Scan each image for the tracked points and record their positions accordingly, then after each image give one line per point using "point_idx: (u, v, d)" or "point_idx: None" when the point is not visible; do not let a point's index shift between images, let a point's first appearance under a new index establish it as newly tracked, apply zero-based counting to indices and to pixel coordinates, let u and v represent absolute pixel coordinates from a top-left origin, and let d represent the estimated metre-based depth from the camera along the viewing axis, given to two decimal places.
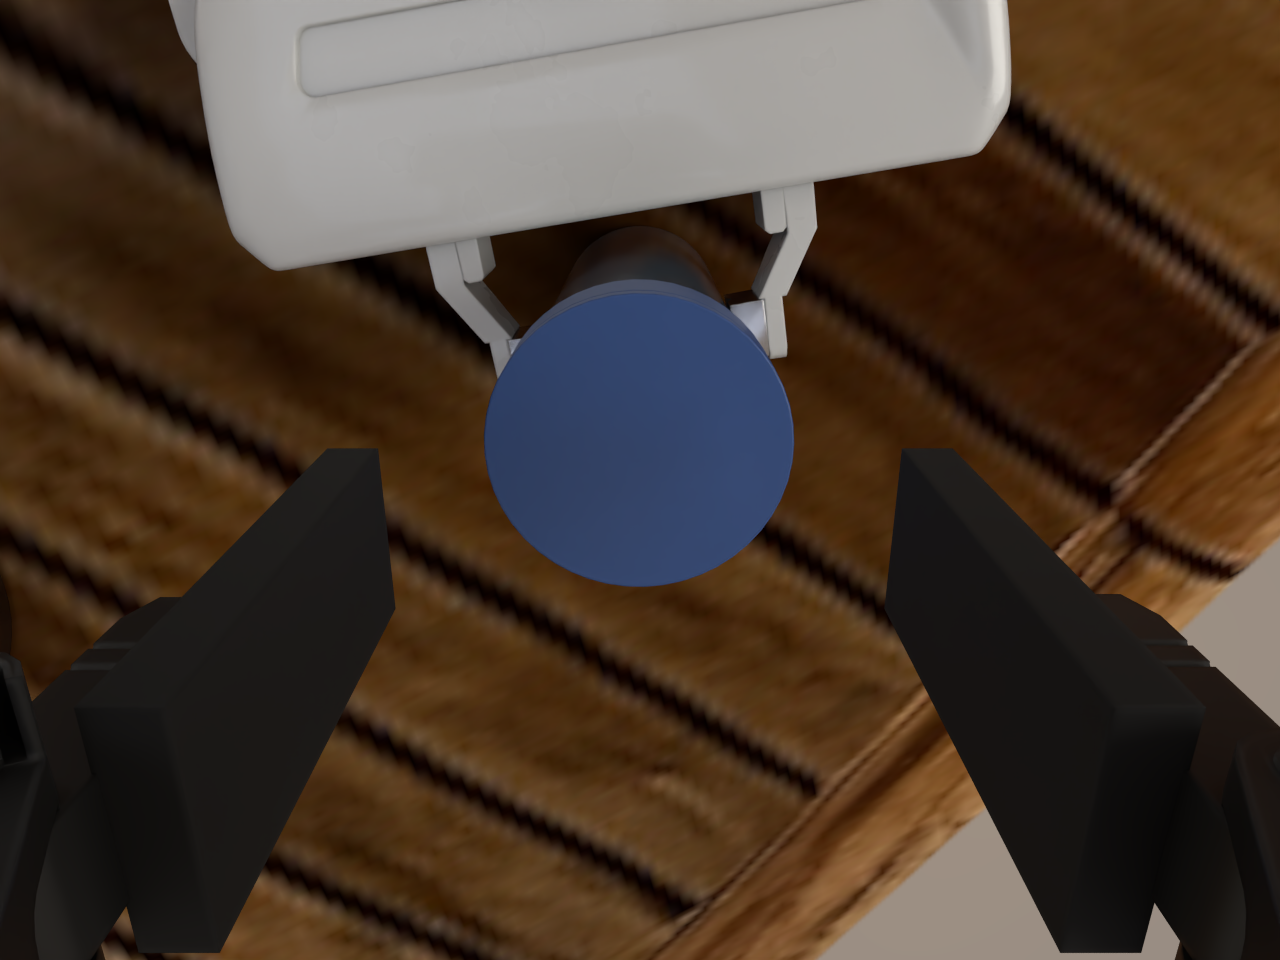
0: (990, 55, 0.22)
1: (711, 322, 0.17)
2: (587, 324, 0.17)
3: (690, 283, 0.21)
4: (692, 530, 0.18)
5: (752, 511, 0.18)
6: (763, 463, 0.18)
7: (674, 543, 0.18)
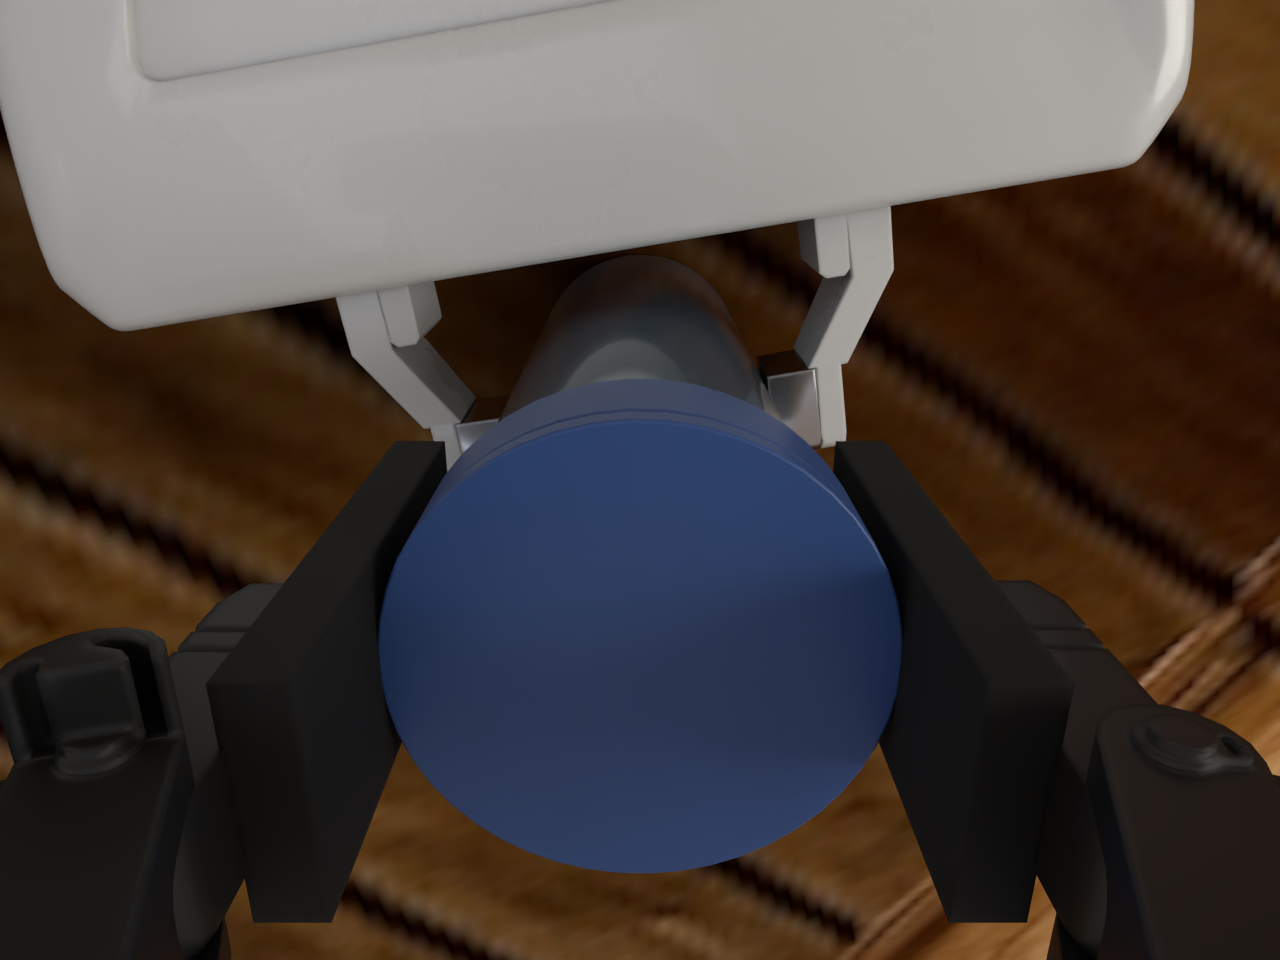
0: (1166, 18, 0.14)
1: (767, 468, 0.10)
2: (549, 471, 0.10)
3: (716, 361, 0.14)
4: (728, 792, 0.11)
5: (828, 764, 0.11)
6: (849, 692, 0.11)
7: (698, 811, 0.11)
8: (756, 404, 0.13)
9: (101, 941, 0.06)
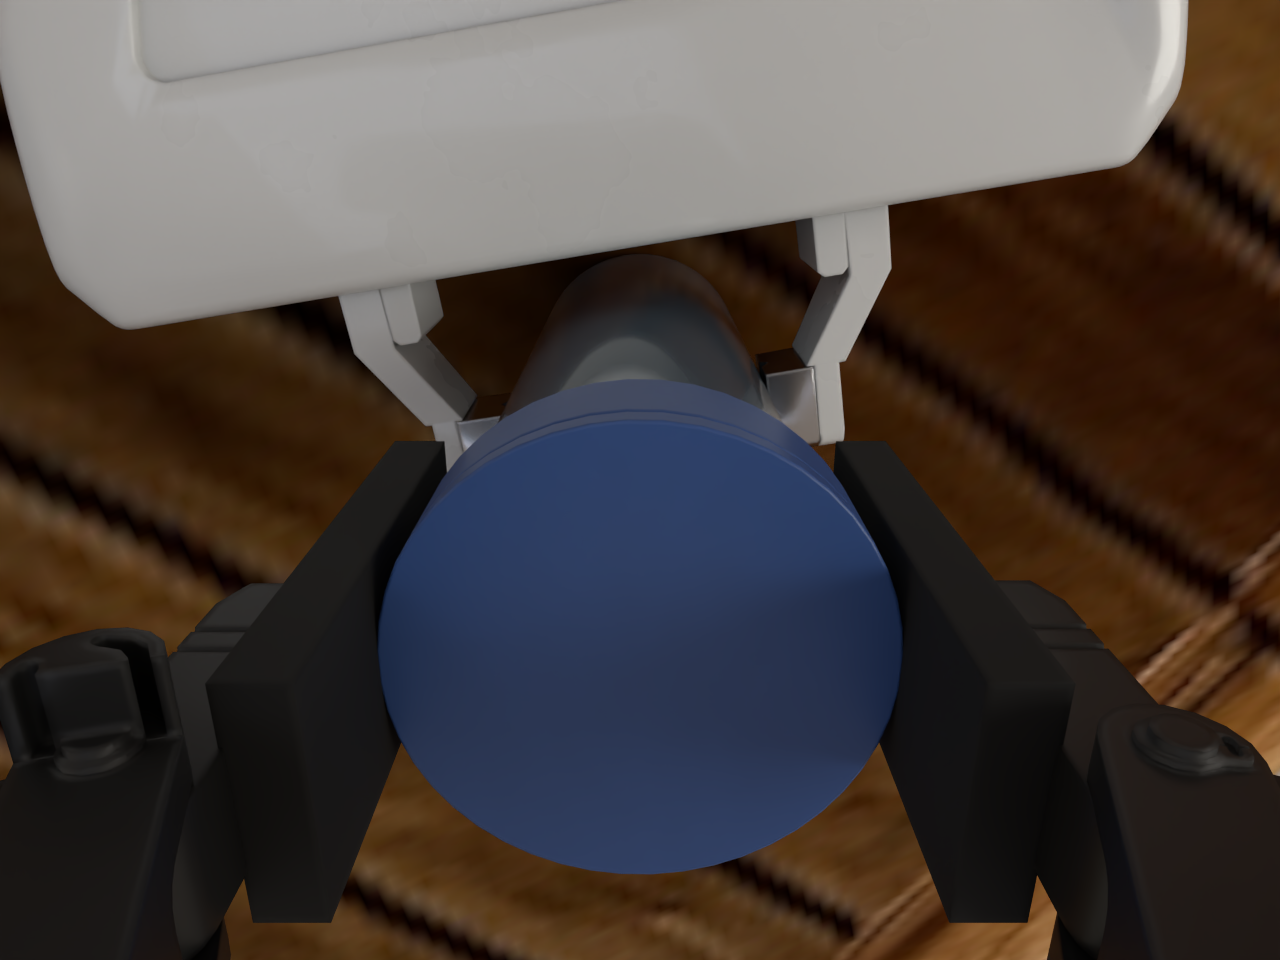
0: (1160, 19, 0.15)
1: (497, 477, 0.10)
2: (411, 643, 0.10)
3: (716, 358, 0.14)
4: (817, 665, 0.10)
5: (846, 567, 0.10)
6: (775, 512, 0.10)
7: (821, 698, 0.11)
8: (755, 401, 0.13)
9: (101, 941, 0.06)
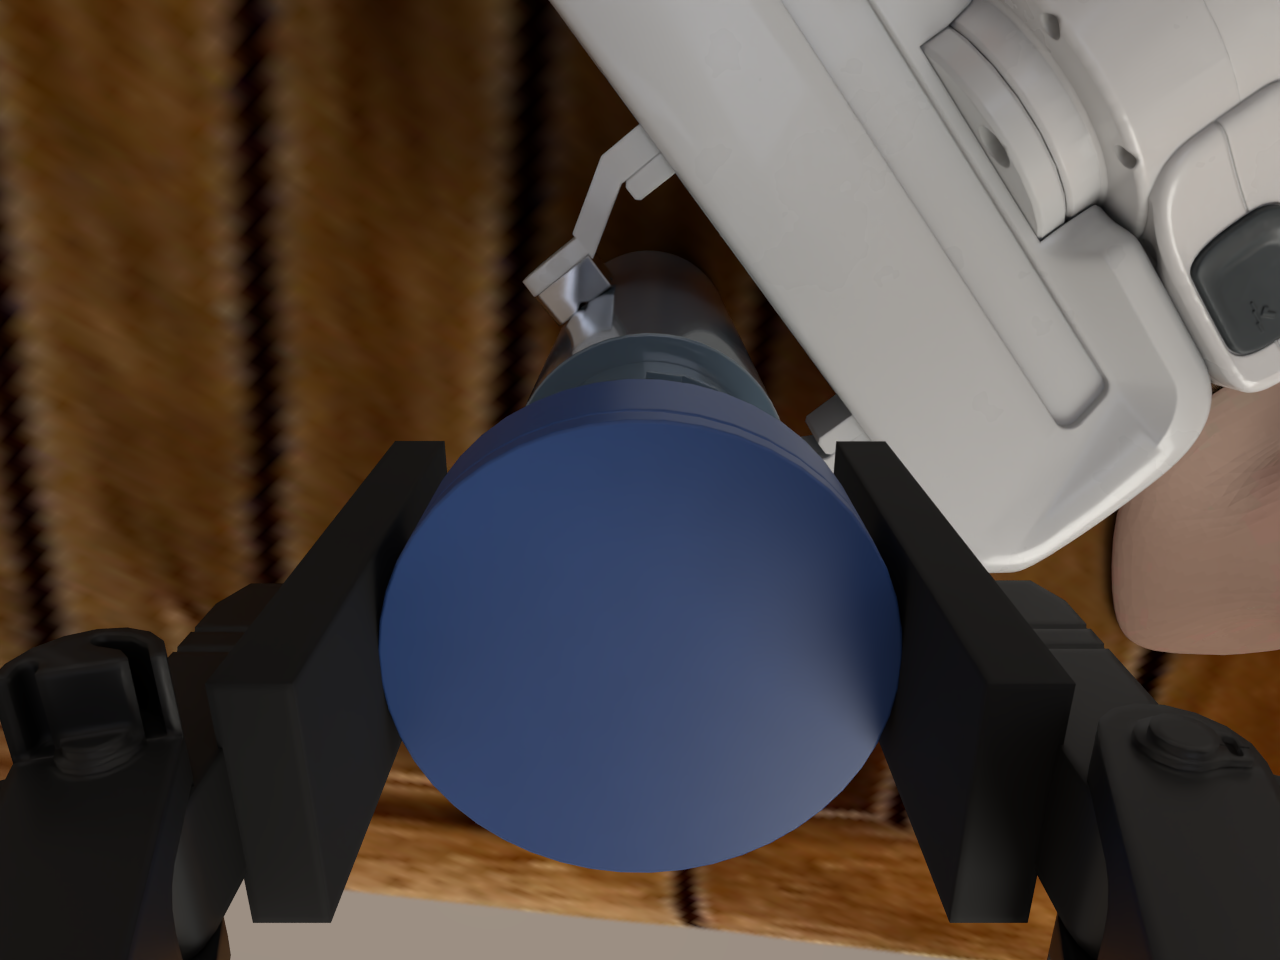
0: (1051, 538, 0.24)
1: (497, 477, 0.10)
2: (412, 642, 0.10)
3: None
4: (817, 664, 0.10)
5: (845, 566, 0.10)
6: (775, 512, 0.10)
7: (821, 697, 0.11)
8: None
9: (100, 941, 0.06)
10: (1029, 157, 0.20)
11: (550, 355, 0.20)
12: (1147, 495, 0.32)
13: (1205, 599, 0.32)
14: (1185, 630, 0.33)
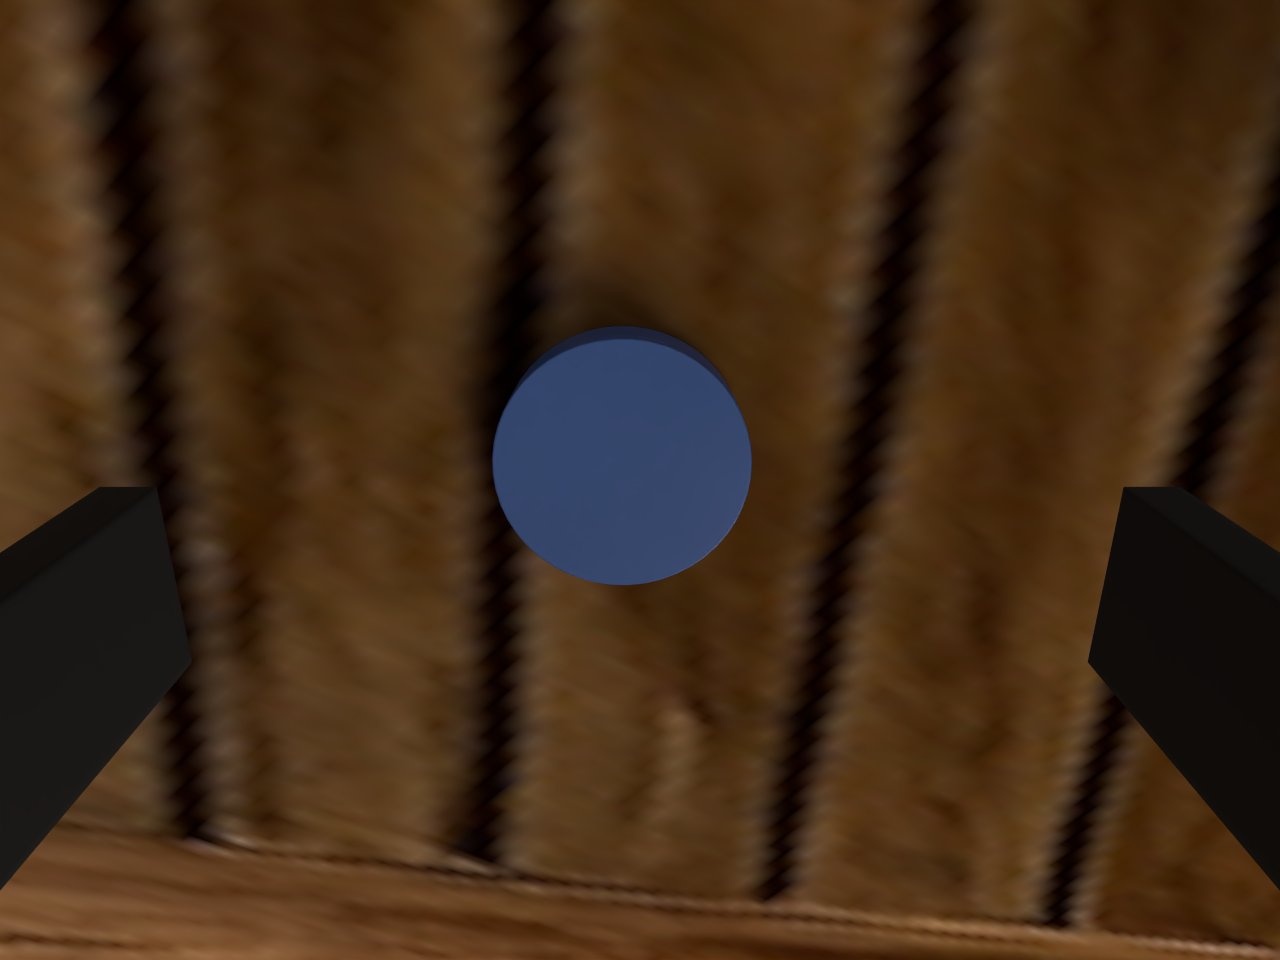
0: None
1: (553, 367, 0.20)
2: (509, 453, 0.21)
3: None
4: (709, 463, 0.21)
5: (720, 411, 0.21)
6: (685, 383, 0.20)
7: (712, 481, 0.21)
8: None
9: None
10: None
11: None
12: None
13: None
14: None
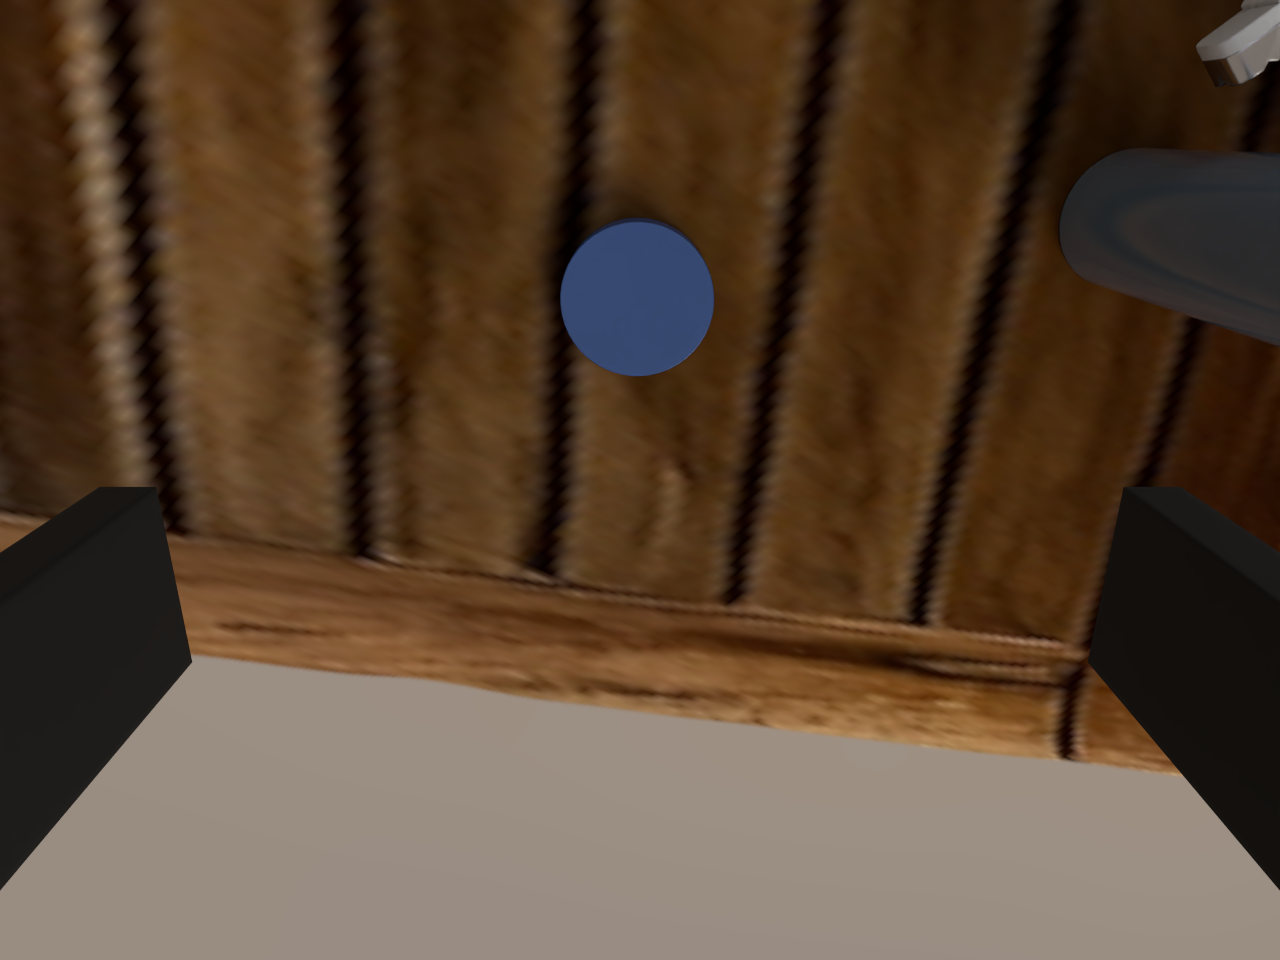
0: None
1: (597, 238, 0.35)
2: (570, 292, 0.35)
3: None
4: (689, 298, 0.35)
5: (695, 266, 0.35)
6: (674, 249, 0.35)
7: (690, 310, 0.36)
8: None
9: None
10: None
11: (1250, 197, 0.26)
12: None
13: None
14: None
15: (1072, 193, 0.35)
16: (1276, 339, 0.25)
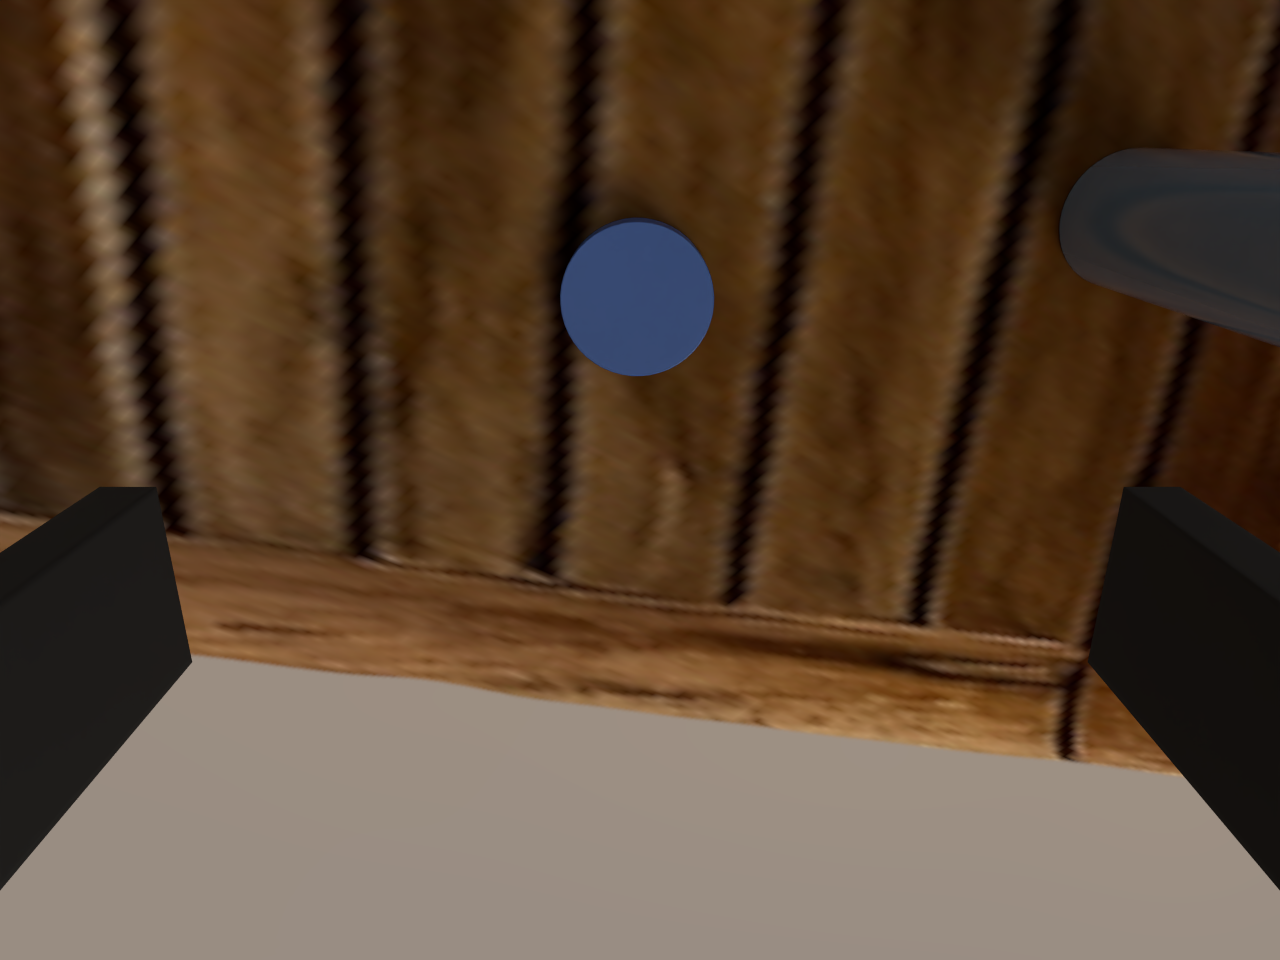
0: None
1: (597, 238, 0.35)
2: (570, 292, 0.35)
3: None
4: (689, 298, 0.35)
5: (695, 266, 0.35)
6: (674, 249, 0.35)
7: (690, 310, 0.36)
8: None
9: None
10: None
11: (1250, 197, 0.26)
12: None
13: None
14: None
15: (1072, 193, 0.35)
16: (1276, 339, 0.25)
